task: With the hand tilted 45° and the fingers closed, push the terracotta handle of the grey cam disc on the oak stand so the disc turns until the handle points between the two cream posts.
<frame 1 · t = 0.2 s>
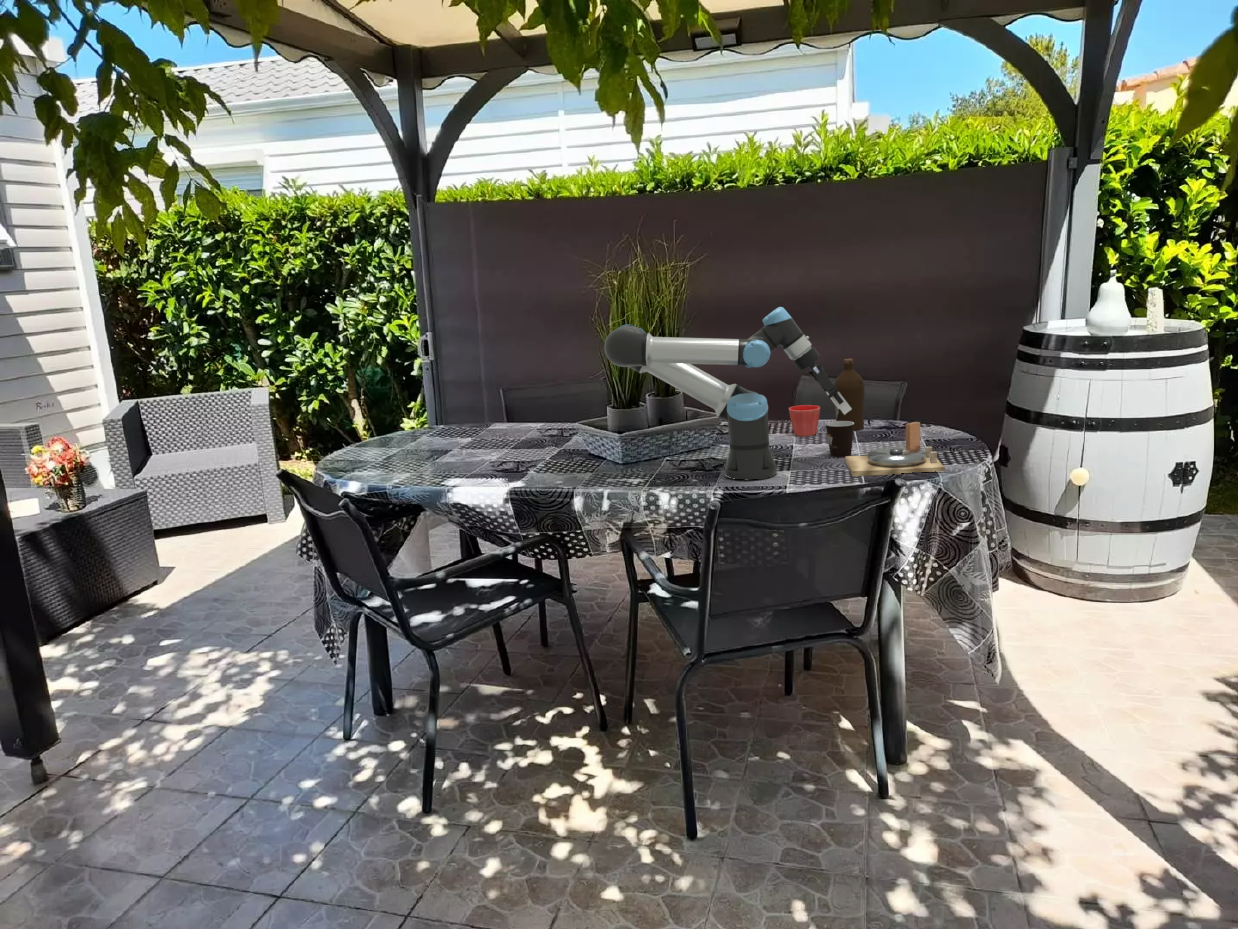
hand: (845, 409, 263), 16 cm above the table, tool tilted 35°, fingers open, 13 cm apart
olive oil: (850, 429, 313), on the table
coffee mug: (840, 454, 276), on the table
cam disc: (896, 443, 253), point 7 cm above the table, hinge at 35.0°
stand plate: (892, 466, 254), on the table
flower pot: (805, 435, 310), on the table
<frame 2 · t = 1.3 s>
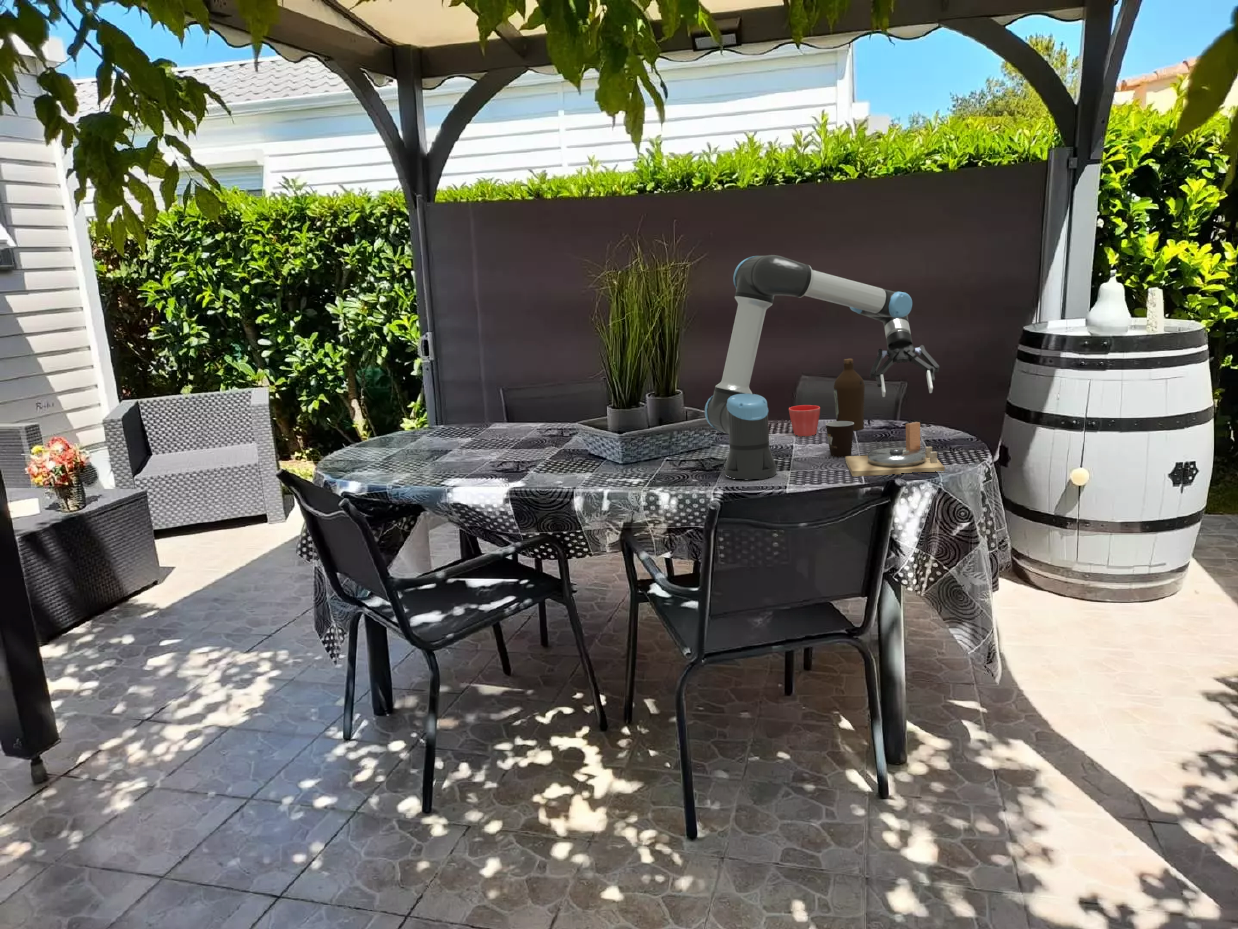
hand: (907, 392, 263), 19 cm above the table, tool tilted 45°, fingers open, 13 cm apart
nothing on the table moved.
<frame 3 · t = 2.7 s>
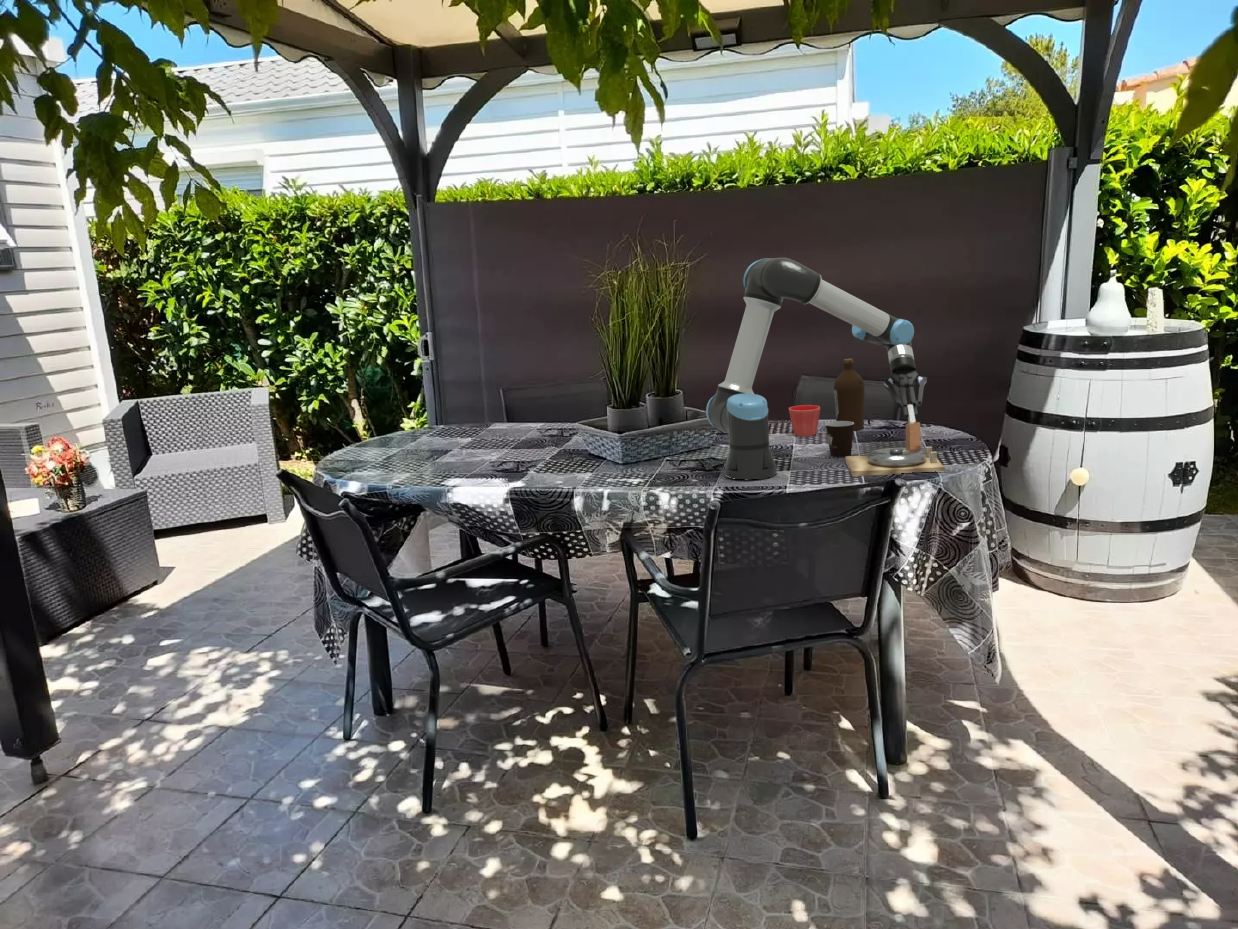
hand: (912, 424, 261), 10 cm above the table, tool tilted 45°, fingers closed
nothing on the table moved.
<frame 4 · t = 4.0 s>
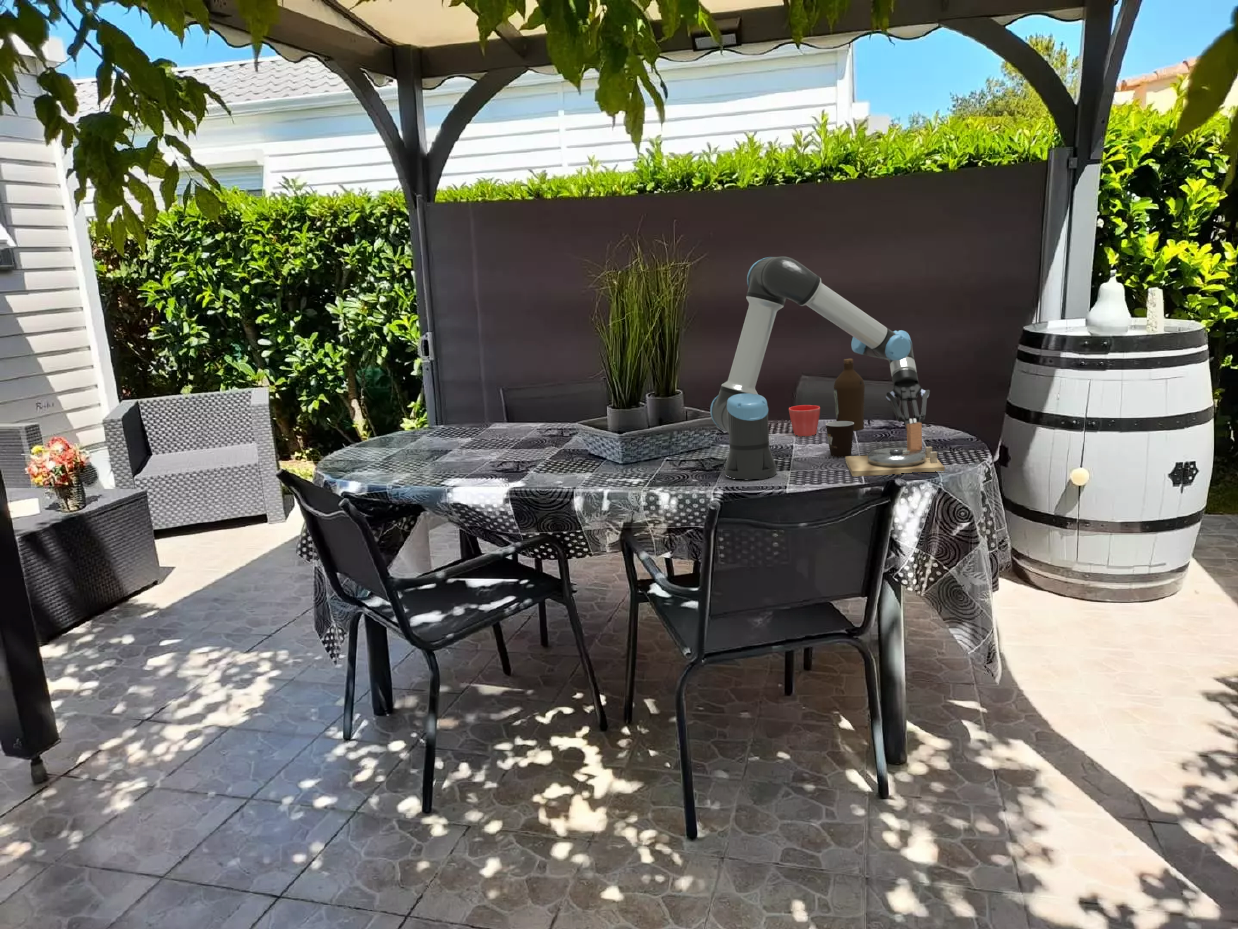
hand: (915, 439, 258), 6 cm above the table, tool tilted 45°, fingers closed
cam disc: (896, 443, 253), point 7 cm above the table, hinge at 30.2°, touching gripper
everything else where it was.
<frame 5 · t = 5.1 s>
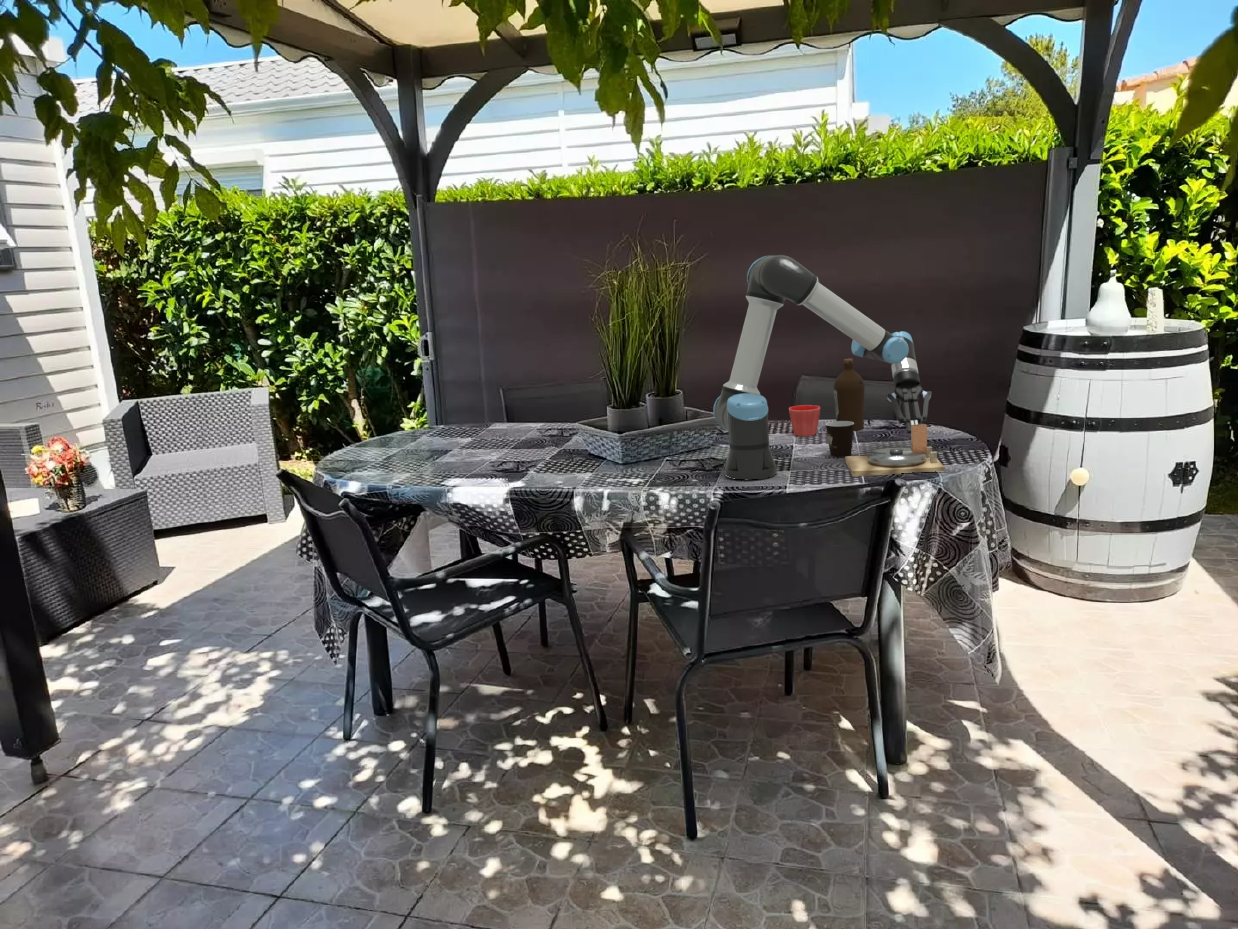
hand: (916, 441, 254), 7 cm above the table, tool tilted 45°, fingers closed
cam disc: (897, 443, 253), point 7 cm above the table, hinge at 5.3°, touching gripper
everything else where it was.
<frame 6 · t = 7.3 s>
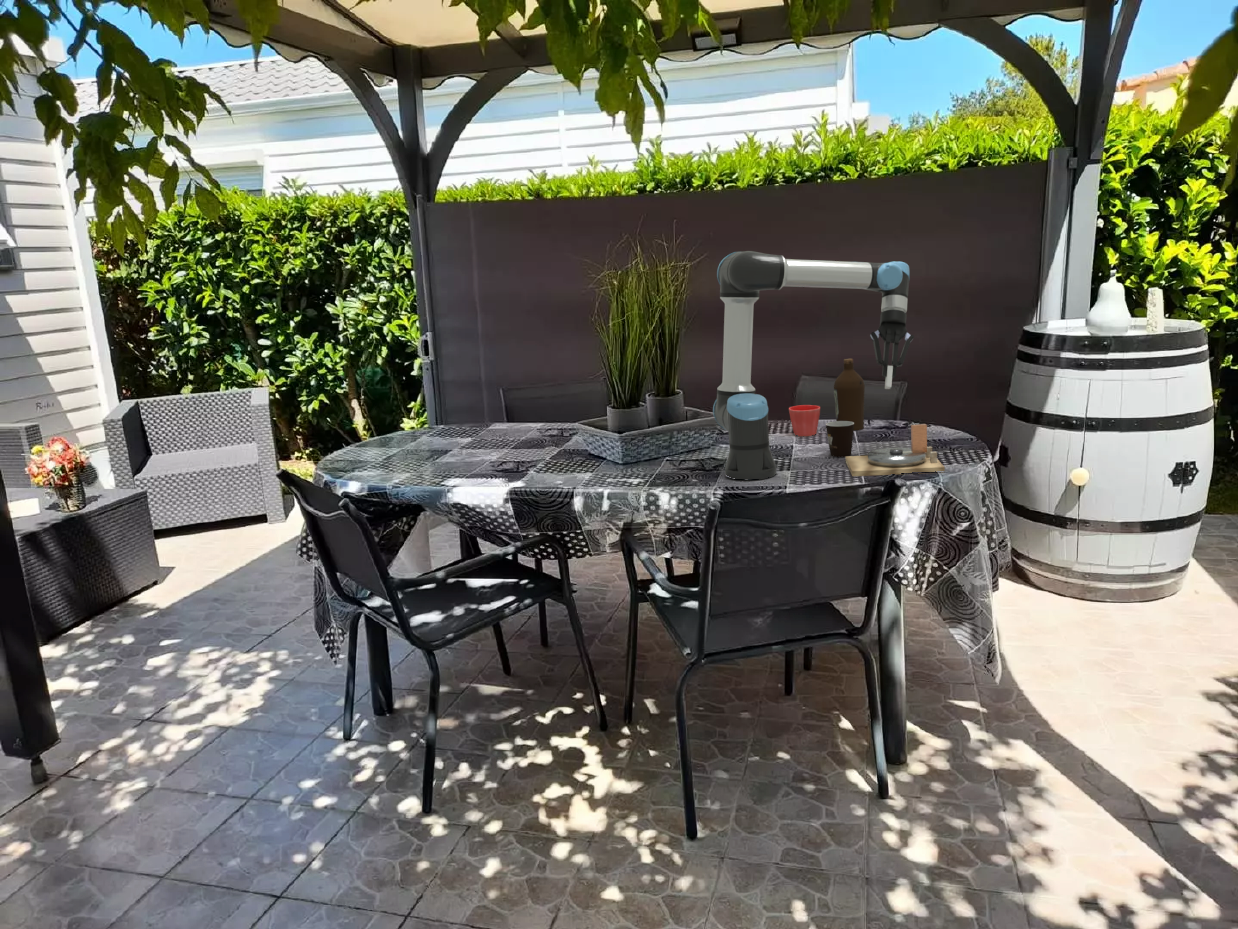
hand: (888, 387, 262), 21 cm above the table, tool tilted 25°, fingers closed
cam disc: (897, 443, 253), point 7 cm above the table, hinge at 5.2°
everything else where it was.
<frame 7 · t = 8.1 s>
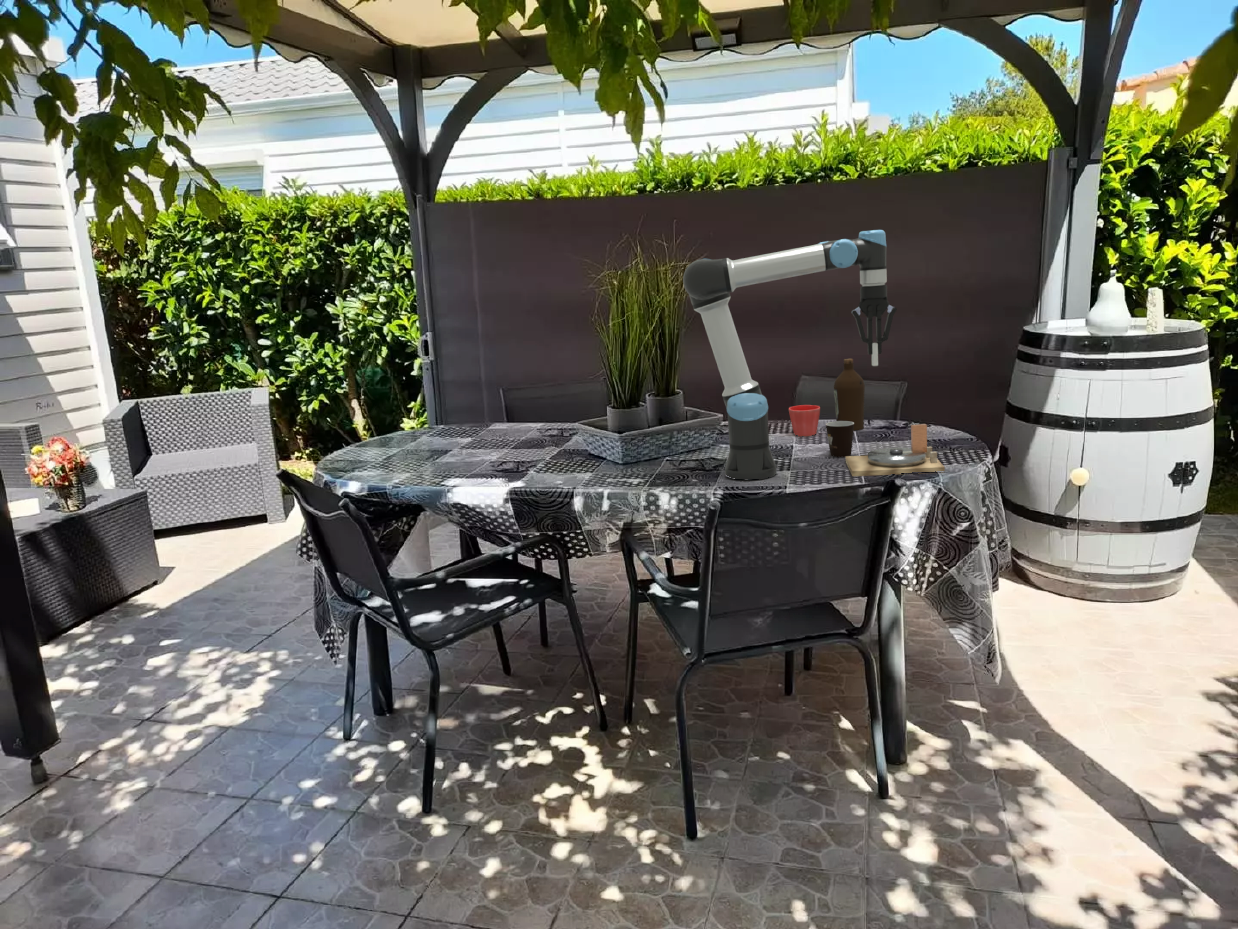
hand: (874, 365, 260), 28 cm above the table, tool pointing down, fingers closed
nothing on the table moved.
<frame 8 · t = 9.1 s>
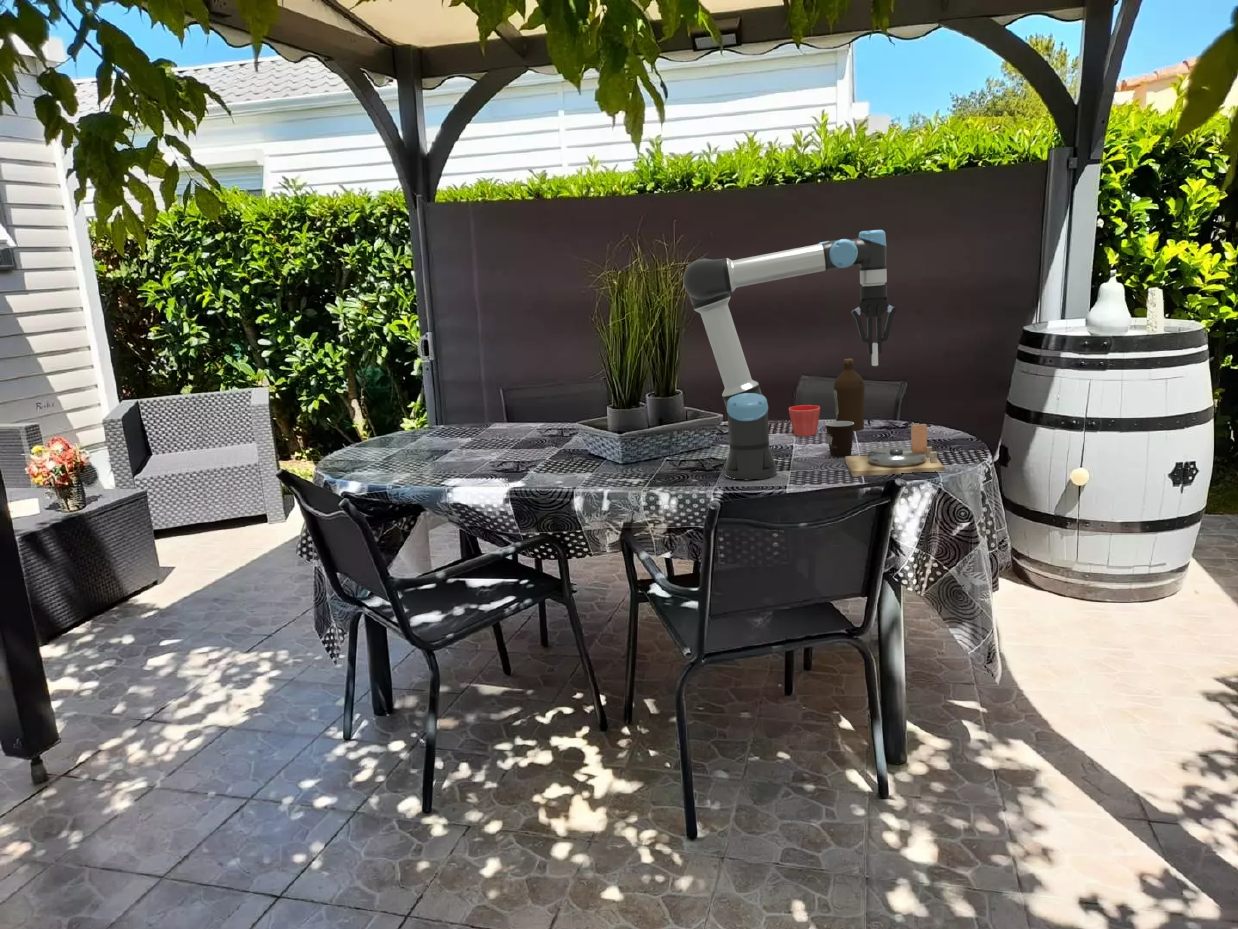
hand: (874, 365, 260), 28 cm above the table, tool pointing down, fingers closed
nothing on the table moved.
at the end: cam disc at +5° (first picture: +35°) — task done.
